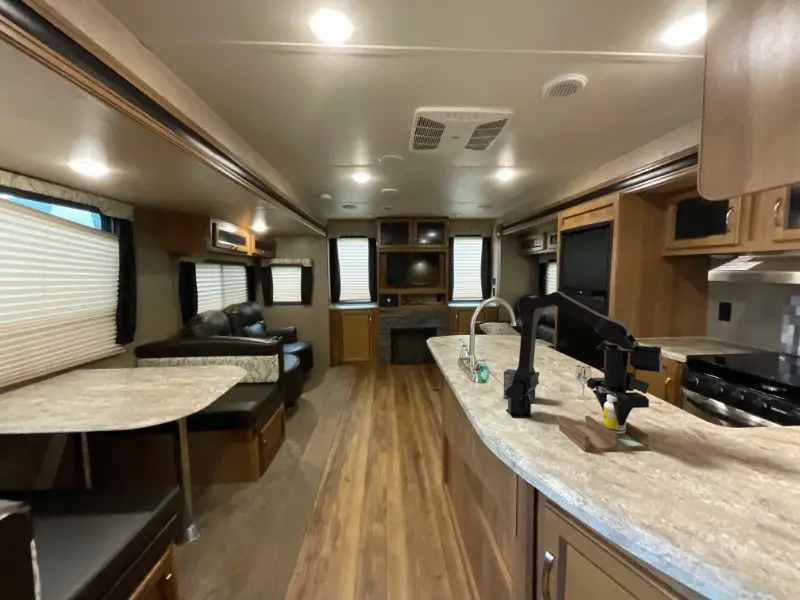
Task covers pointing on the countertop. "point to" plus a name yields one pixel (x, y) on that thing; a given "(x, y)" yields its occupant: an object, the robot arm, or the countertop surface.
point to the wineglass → (583, 378)
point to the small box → (508, 383)
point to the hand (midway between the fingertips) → (614, 421)
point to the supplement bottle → (612, 416)
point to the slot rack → (603, 436)
